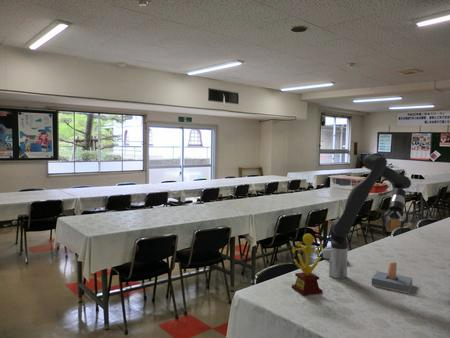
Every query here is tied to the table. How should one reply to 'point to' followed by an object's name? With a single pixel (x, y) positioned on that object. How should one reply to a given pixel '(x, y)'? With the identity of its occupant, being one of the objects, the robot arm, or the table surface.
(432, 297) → the table surface
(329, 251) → the hinge
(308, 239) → the trophy
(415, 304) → the table surface
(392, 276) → the peg
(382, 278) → the socket block
